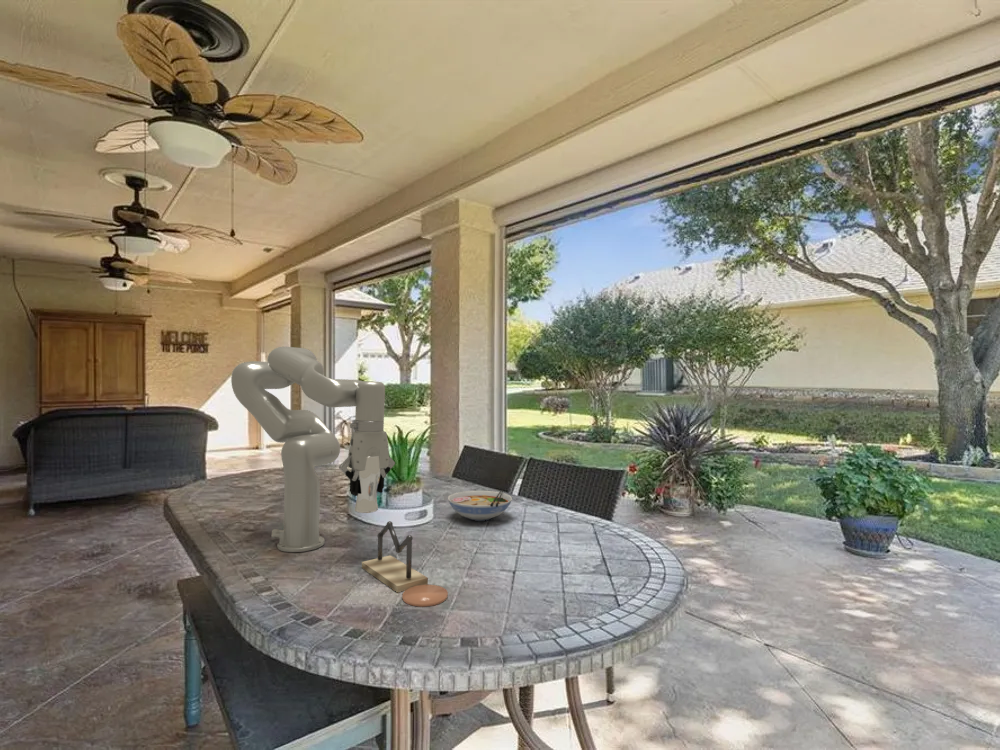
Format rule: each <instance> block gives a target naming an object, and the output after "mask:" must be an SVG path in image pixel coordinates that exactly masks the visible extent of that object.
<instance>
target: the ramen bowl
mask: <svg viewBox="0 0 1000 750" xmlns="http://www.w3.org/2000/svg"><path fill="white" fill-rule="evenodd" d="M503 491H504V490H503V489H501V490H500V491H492V490H465V491H460V492H454V493H451V494H449V495H448V496H447V500H448V503H449V504H450V506H451V508H452V509H453V510H454V511H455V512H456V513H457V514H459V515H460V516H461V517H463V518H466V519H469V520H471V521H473V520H475V521H476V522H485V520H486V521H489V520H490V519H494V518H496V517H498V516H500V515H501V514H503V513H504V512H505V511H506V510H507V509H508V508H509V506H510V505H511V503H512V502H513V497H512V496H511V495H510V494H507V493H505V492H504V493H503ZM475 521H474V522H475Z"/></svg>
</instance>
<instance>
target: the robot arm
mask: <svg viewBox="0 0 1000 750" xmlns="http://www.w3.org/2000/svg"><path fill="white" fill-rule="evenodd" d="M317 359H318V358H317V356H316V355H315V353H314V352H313V351H312V350H310V349H308V348H305V347H295V346H294V347H293V346H278V347H276V348H274V349H272V350H271V351H269V354H268V355H267V360H266V361H261V360H260V361H258V360H257V361H256V360H255V361H254V360H253V361H246V362H242V363H239V364H238V365H236V366H235V367H234V369H233V370H232V372H231V379H230V381H231V382H230V383H231V388H232V392H233V394H234V396H235V397H236V399H237V400H238V402H239V403H240V404H241V405H242V406H243V407H244V408H245V410H247V411H248V412H249V413H250V415H252V416H253V417H254V419H255V420H256V421H257V423H258V424H259V425H260V427H261V428H262V429H263V430H264V432H265V433H266V434H267V435H268V436H269V437H270V438H271V439H272V440H273V441H274V442H275V443H279V444H280V443H281V444H282V443H284V444H283V446H282V448H281V450H280V451H281V454H280V455H281V462H282V468H283V469H282V470H283V474H284V476H283V477H284V490H283V491H284V493H283V494H284V495H283V496H284V498H283V499H284V500H283V501H284V503H283V529H276V528H273V529H272V530H271V536H270V538H271V539H279V541H278V542H277V546H276V547H277V549H278V550H279V551H281V552H284V553H300V552H301V553H303V552H309V551H313V550H316V549H319V548H321V547H322V546H324V544H325V538H324V536H321V535H320V507H321V505H320V501H321V492H320V491H321V483H320V482H321V481H320V478H319V476H318V474H317V472H316V469H315V467H320V466H324V465H329V464H331V463H333V462H335V461H336V460H337V459H338V458H339V456H340V454H341V447H340V442H339V440H338V439H337V437H336V435H335V434H334V433H333V431H331V430H330V428H329V427H328V426H327V425H326V424H325V422H323V421H322V419H321V418H320V417H319V416H318V415H317V414H316V413H314V412H313V411H311V410H308V409H290V408H287V407H286V406H285V404H283V403H282V401H281V400H280V399H279V398H278V397H277V396H276V395H274V394H273V393H271V392H269V391H268V390H281V389H285V388H287V387H290V386H292V385H294V384H296V385H299V386H300V387H301V388H300V389H301V390H302V392H303V393H304V395H305V396H306V397H307V398H309V399H310V400H312V401H314V402H316V403H318V404H320V405H322V406H325V407H328V408H346V407H349V408H350V407H352V408H353V407H355V411H354V412H355V416H354V419H355V420H353V421H354V422H353V423H350V424H349V427H350V429H353V430H354V431H353V432H352V434H351V436H350V442H349V447H348V453H347V454H348V456H347V457H346V458H345V460H343V461H342V463H341V464H339V466H338V469H339V470H340V471H341V472H342V473H343V474H344V475H345V476H346V477H347V479H349V492H350V494H351V495H353V496H354V497H357V495H358V485H359V482H358V481H357V477H358V475H359V471H363V470H365V467H366V461H367V459H366V457H368V456H379V466H380V469H381V476H380V482H379V486H378V491H377V493H380V494H382V493H383V491H384V487H385V478H386V477H387V475H388V473H389V472H390V471H391V469H393V467H394V466H395V464H396V462H395V461H394V460H393V458H392V457H390V452H389V451H390V450H389V448H390V447H389V440H388V434H387V431H384V427H385V423H384V421H385V403H386V402H385V397H386V394H385V393H386V385H385V384H384V383H383V382H381V381H374V380H373V381H370V380H366V381H365V380H359V379H343V378H341V379H339V378H338V379H335V378H334V379H333V378H330V377H328V376H326V375H324V372H325V371H324V369H325V368H324V366H323V364H322V362H320V361H318V360H317ZM348 468H350V469H351V470H349V469H348Z"/></svg>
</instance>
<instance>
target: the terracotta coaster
mask: <svg viewBox="0 0 1000 750" xmlns="http://www.w3.org/2000/svg"><path fill="white" fill-rule="evenodd" d="M402 592H403V593H402V595H401V598H402V601H403V602H404V603H406V604H407V605H409V606H413V607H422V608H423V607H426V608H427V607H432V606H433V607H434V606H437V605H440V604H442V603H443V602H445V601H446V600H447V599H448V596H449V594H448V593H449V592H448V590H447V589H446V588H445V587H442V586H440V585H437V584H436V585H435V584H426V585H418V586H414V587H411V588H409V589H407V590H405V591H402Z"/></svg>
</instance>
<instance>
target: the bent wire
mask: <svg viewBox="0 0 1000 750" xmlns="http://www.w3.org/2000/svg"><path fill="white" fill-rule="evenodd" d="M388 531H389V534H390V536H391V539H392V542H393V545H394V547H395V552H396V553H397V554H400V553H402V552H403V549H405V548H406V555H405V556H406V557H405V558H406V562H405V564H406V578H411V568H412V558H413V557H412V555H413V553H412V552H413V547H412V546H413V538H414V537H413V535H410V534H408V535H407V536H406V537H405V538H404V540H403V541H402V542H401V543H400V542H399V539H398V536H397V534H396V530H395V528H394V523H393V521H387V523H386V524H385V526H384V527H383V528H382V529H381V531H379V532H378V533H377V535H376V537H377V558H378V560H382V557H383V550H384V549H383V545H384V543H383V541H384V540H383V538H384V535H385V534H386V533H387V532H388Z"/></svg>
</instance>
